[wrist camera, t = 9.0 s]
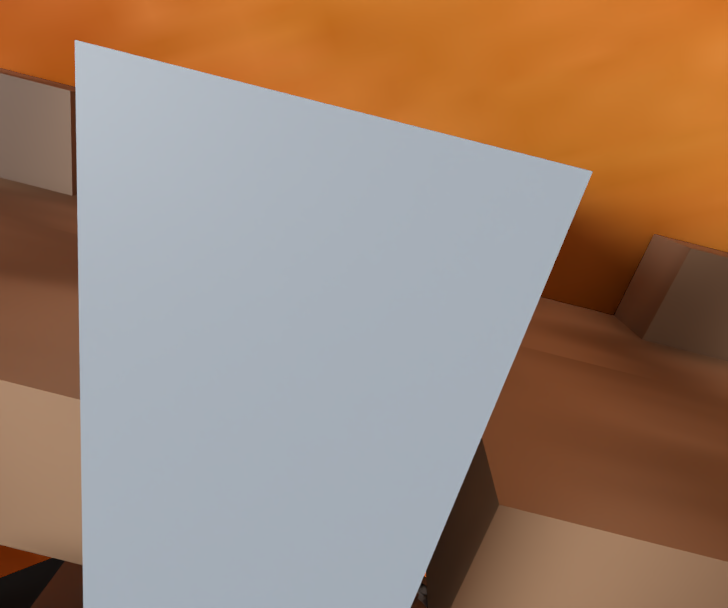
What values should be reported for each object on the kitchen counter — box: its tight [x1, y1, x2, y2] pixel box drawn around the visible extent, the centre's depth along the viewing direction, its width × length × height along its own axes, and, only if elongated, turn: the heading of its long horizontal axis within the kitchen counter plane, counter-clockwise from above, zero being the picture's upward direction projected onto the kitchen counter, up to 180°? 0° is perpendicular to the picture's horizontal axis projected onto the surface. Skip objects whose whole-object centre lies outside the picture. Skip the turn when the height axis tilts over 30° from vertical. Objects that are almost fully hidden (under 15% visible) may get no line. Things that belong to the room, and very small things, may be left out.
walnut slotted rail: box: [0, 68, 728, 608], centre depth 8 cm, size 20×7×8 cm, turn 77°
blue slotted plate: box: [75, 40, 593, 608], centre depth 8 cm, size 10×2×8 cm, turn 167°
